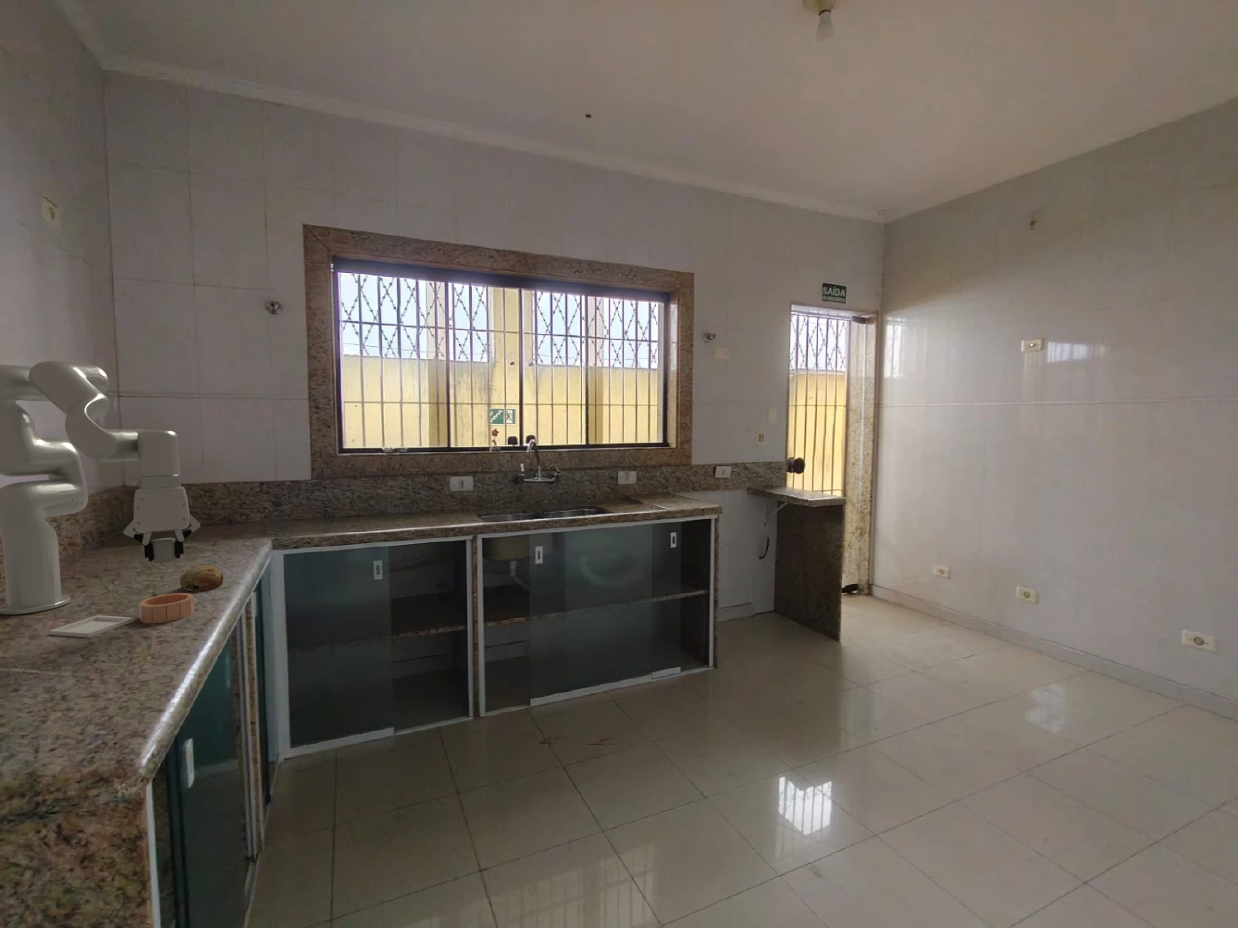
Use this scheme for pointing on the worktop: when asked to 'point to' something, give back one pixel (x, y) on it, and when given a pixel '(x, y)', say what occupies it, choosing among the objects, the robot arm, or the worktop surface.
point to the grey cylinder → (164, 550)
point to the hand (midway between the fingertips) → (164, 558)
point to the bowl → (166, 607)
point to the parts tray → (92, 626)
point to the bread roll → (201, 578)
